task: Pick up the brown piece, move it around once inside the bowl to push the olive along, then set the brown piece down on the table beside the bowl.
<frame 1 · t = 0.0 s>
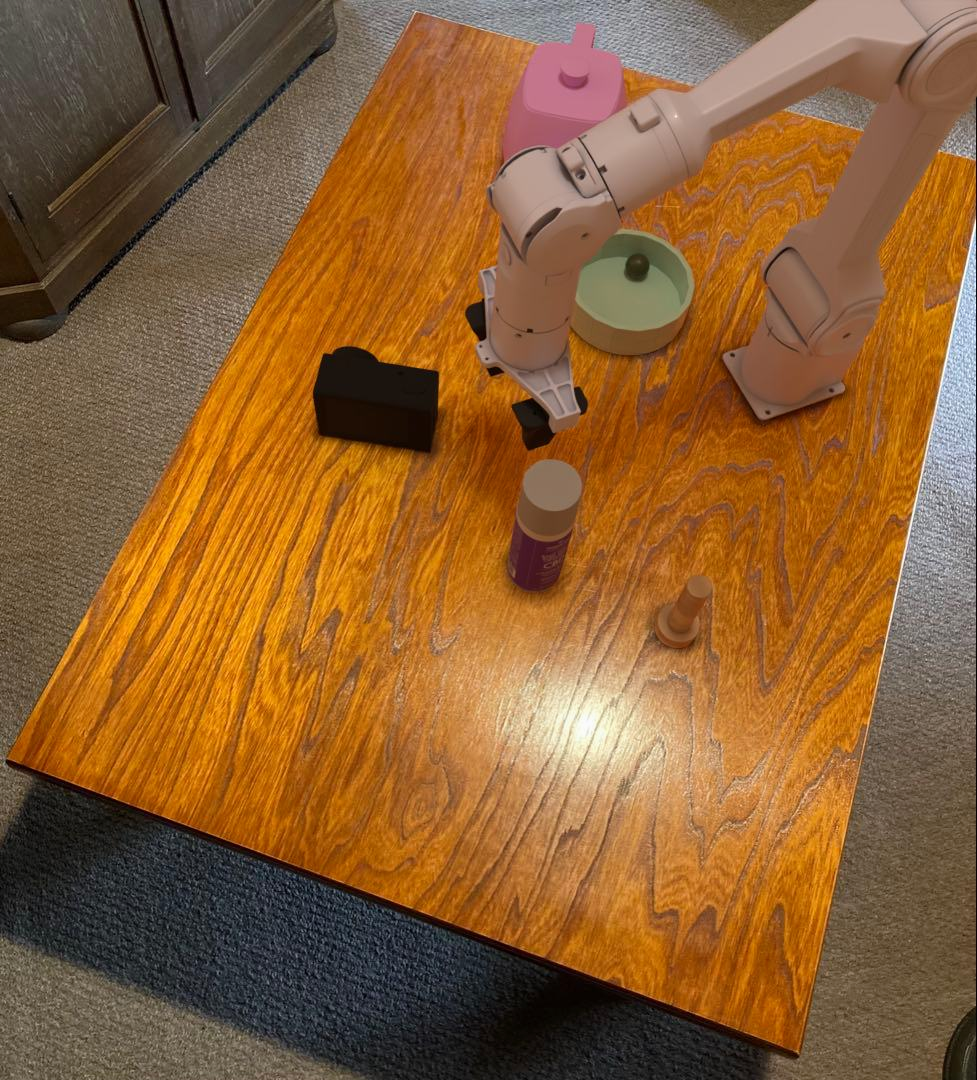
hand: (518, 406, 89), 10 cm above the table, tool pointing down, fingers open, 7 cm apart
bowl: (623, 304, 107), on the table
brown piece: (675, 628, 92), on the table
olive: (637, 265, 106), point 2 cm above the table, touching bowl
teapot: (559, 168, 114), on the table
digital camera: (381, 420, 99), on the table
container: (533, 569, 93), on the table
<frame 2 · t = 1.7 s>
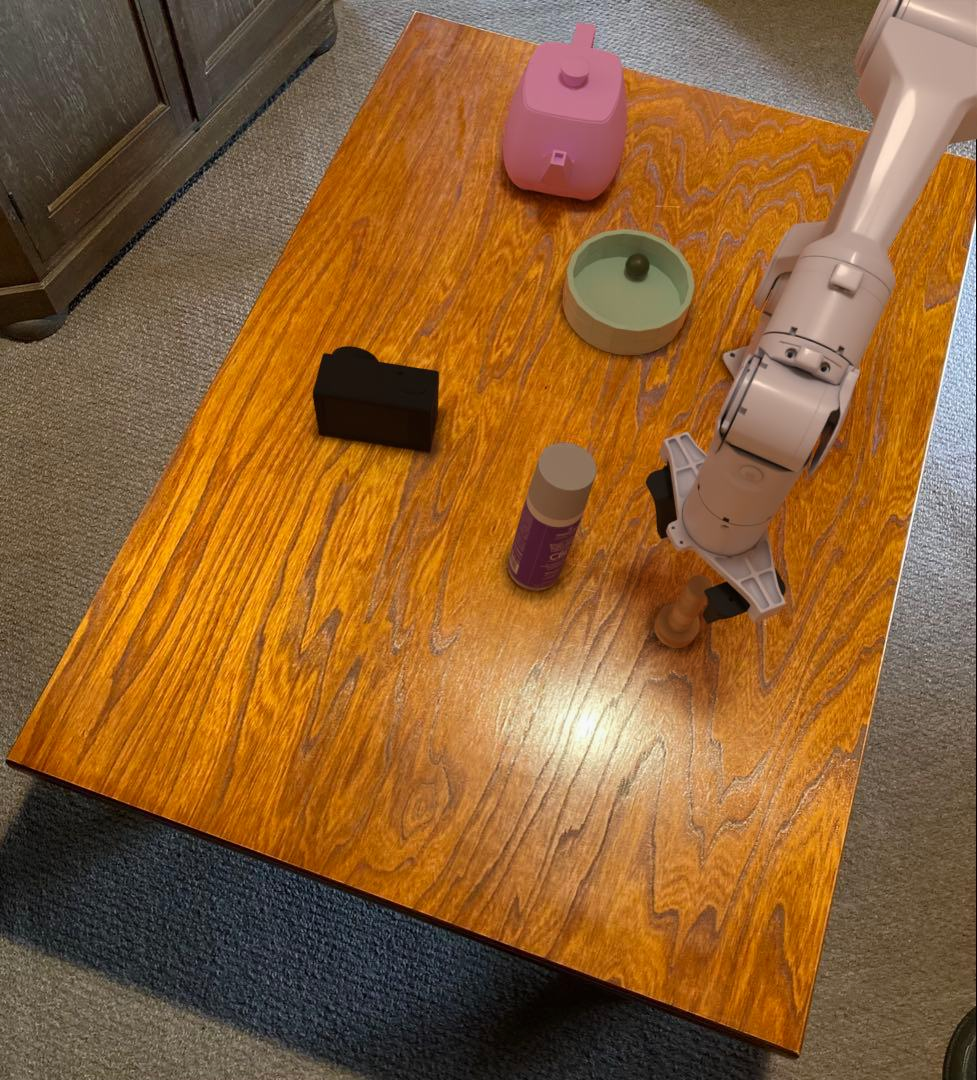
hand: (692, 573, 83), 10 cm above the table, tool pointing down, fingers open, 7 cm apart
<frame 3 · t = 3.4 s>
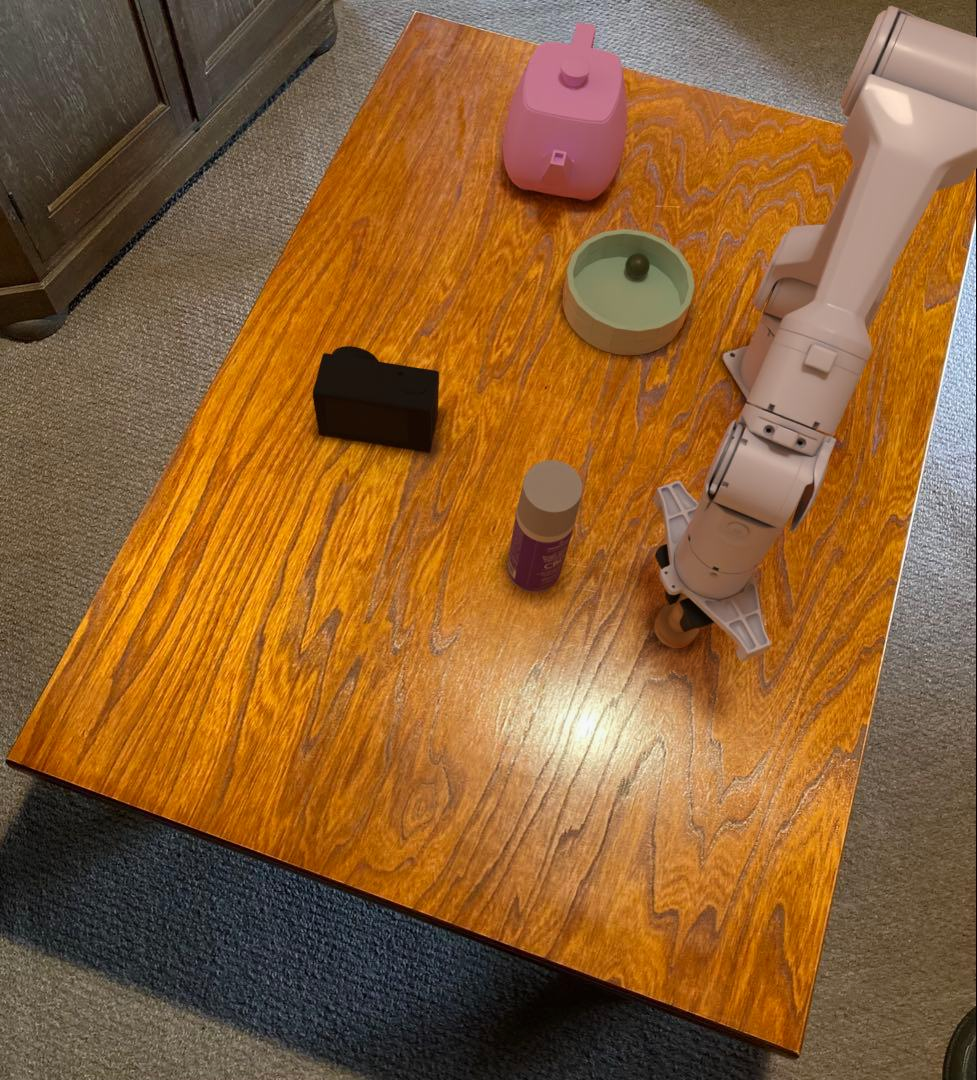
hand: (685, 610, 88), 4 cm above the table, tool pointing down, fingers closed on brown piece, 2 cm apart
brown piece: (675, 628, 92), on the table, touching gripper
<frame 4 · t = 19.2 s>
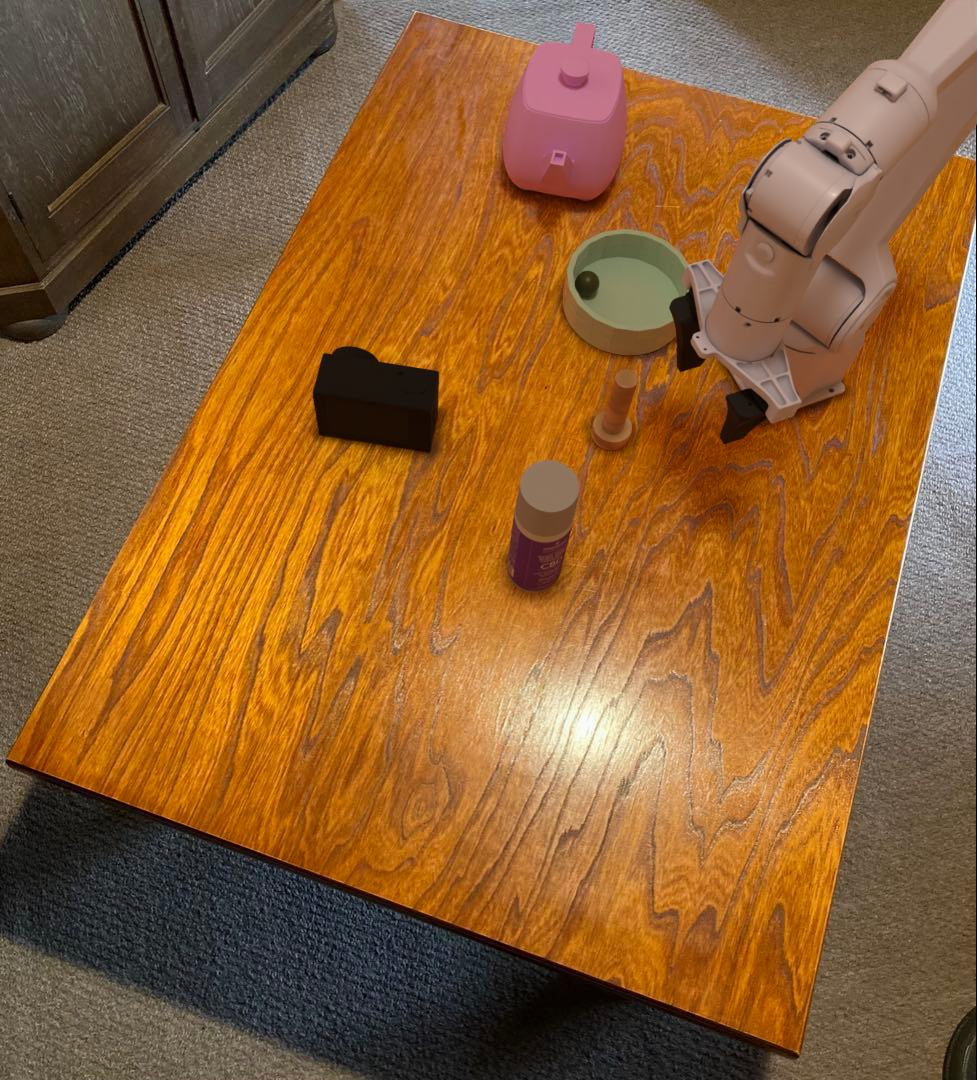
hand: (710, 401, 89), 10 cm above the table, tool pointing down, fingers open, 7 cm apart
brown piece: (610, 434, 100), on the table
olive: (587, 283, 105), point 2 cm above the table, tilted 101°, touching bowl
everything else where it was.
at the end: olive moved 5.7 cm from its start; olive inside the target area in the bowl (4.0 cm from its centre), point 1.8 cm above the bowl's base; brown piece touching table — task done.
